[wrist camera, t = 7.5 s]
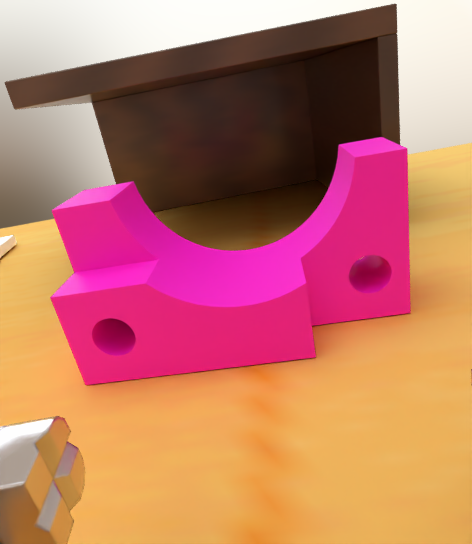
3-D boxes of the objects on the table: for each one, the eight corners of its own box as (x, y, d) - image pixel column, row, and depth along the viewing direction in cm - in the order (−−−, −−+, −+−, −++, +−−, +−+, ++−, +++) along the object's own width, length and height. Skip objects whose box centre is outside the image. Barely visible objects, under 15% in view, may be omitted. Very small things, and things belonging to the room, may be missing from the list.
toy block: (85, 385, 19) (22, 228, 16) (125, 315, 25) (84, 190, 22) (430, 343, 17) (430, 158, 14) (387, 278, 23) (381, 136, 20)
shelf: (324, 175, 48) (311, 42, 42) (402, 227, 29) (396, 3, 24) (127, 214, 48) (89, 86, 43) (81, 291, 29) (3, 81, 24)
